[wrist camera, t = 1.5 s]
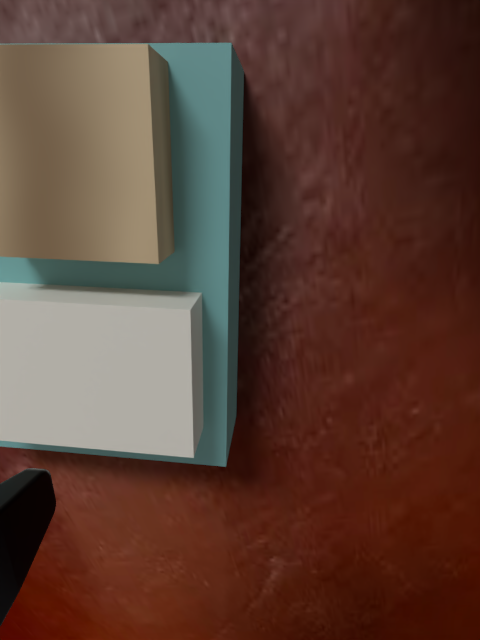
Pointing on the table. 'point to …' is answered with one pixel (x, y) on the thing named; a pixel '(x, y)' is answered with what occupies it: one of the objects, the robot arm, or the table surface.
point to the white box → (101, 368)
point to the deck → (185, 234)
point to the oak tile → (85, 153)
